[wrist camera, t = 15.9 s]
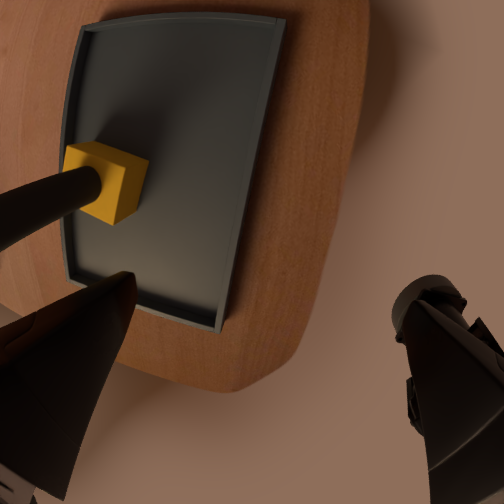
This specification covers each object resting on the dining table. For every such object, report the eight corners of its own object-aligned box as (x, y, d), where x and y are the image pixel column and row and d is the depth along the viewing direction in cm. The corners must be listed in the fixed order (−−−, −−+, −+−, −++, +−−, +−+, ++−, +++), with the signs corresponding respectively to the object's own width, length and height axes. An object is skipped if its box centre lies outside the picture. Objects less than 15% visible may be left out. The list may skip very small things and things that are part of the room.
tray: (287, 27, 15) (286, 19, 13) (224, 322, 26) (220, 334, 24) (93, 29, 16) (81, 25, 14) (75, 273, 26) (66, 281, 25)
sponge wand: (149, 160, 20) (12, 209, 8) (136, 212, 22) (18, 293, 10) (93, 140, 19) (-38, 173, 8) (84, 188, 21) (-33, 245, 10)
